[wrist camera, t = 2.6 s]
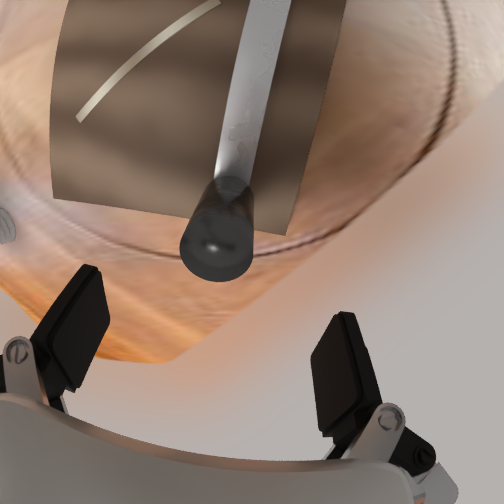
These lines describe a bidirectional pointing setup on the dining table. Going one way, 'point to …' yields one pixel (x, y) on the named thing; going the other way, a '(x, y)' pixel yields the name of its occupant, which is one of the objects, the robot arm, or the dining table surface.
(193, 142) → the lever board
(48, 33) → the dining table surface
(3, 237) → the chalice
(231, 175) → the lever
